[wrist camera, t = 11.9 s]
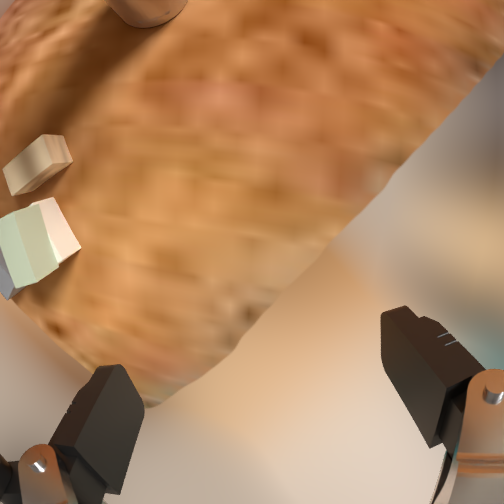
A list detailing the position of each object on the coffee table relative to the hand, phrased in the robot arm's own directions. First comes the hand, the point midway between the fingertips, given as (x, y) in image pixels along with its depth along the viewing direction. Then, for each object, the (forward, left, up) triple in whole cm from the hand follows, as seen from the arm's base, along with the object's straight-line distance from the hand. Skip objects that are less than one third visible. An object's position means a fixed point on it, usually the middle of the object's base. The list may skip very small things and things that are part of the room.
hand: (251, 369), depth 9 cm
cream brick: (-4, -25, -28) cm, 38 cm away
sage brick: (-4, -25, -23) cm, 34 cm away
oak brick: (-13, -24, -28) cm, 39 cm away
